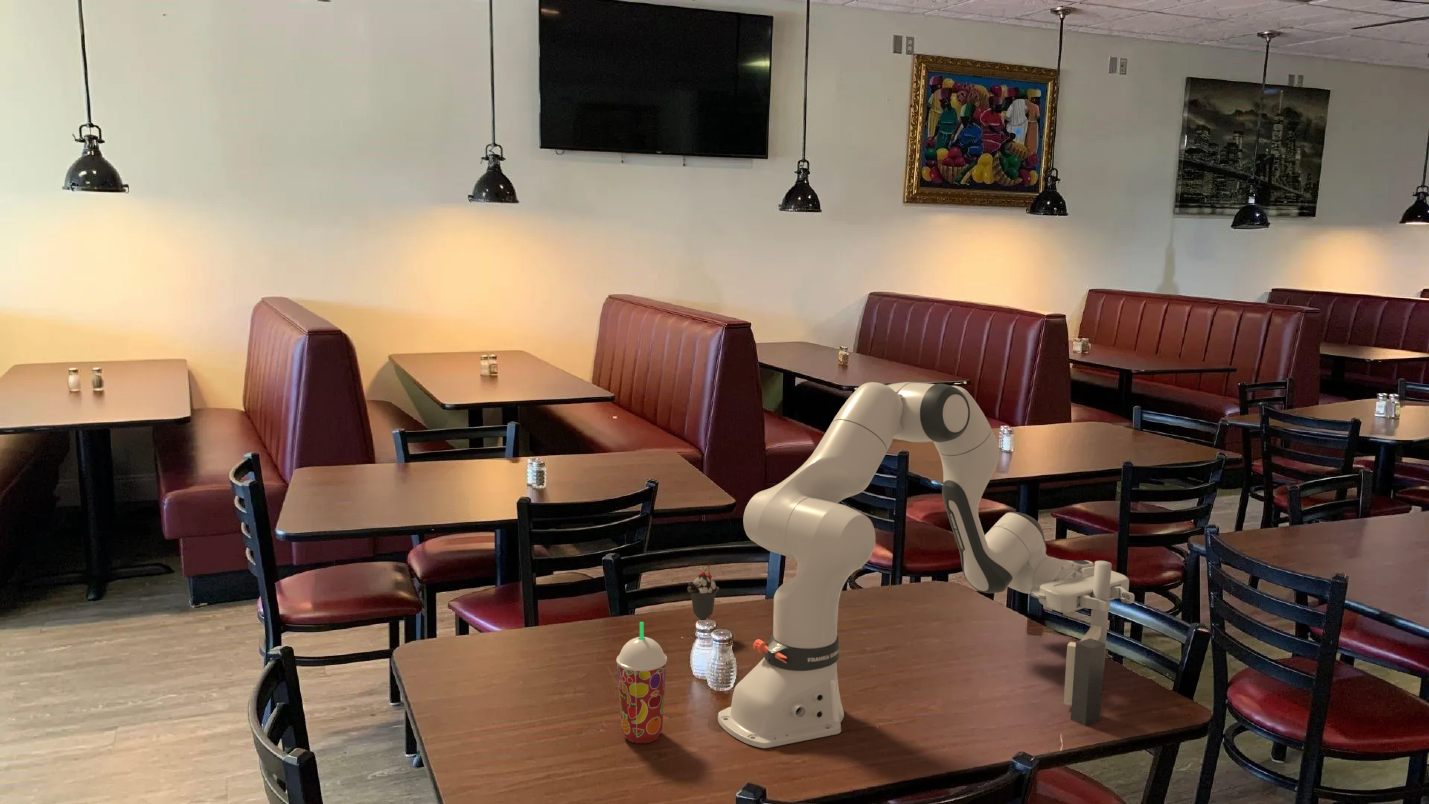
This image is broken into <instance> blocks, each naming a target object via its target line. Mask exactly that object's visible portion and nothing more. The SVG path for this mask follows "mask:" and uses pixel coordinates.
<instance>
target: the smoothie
mask: <svg viewBox="0 0 1429 804" xmlns="http://www.w3.org/2000/svg"><path fill="white" fill-rule="evenodd" d="M644 624H645V623H644V621H640V622H639V636H637V637H634V638H631V639H630V640H628V641H627V642H626V643H625V644H624V645H623V647H622V648H621V650H620V651H619V652H620V653H619V655H618V654H617V656H616V660H615V661H616V671H617V683H618V696H619V697H618V699H619V712H620V722H621V724H620V725H621V731H622V733H623V734H624V737H625V736H626V737H625V739H626V738H627V739H628V740H631V741H633V742H636V743H635V744H638V743H644V744H649V743H652V741H653V742H654V740H655V741H656V740H658V738H659V737H660V733H662V730H663V722H664V706H665V693H666V692H665V689H666V677H667V676H666V674H667V661H668V657H667V655H666V653H665V652H664V650H663V648H662V647H661V645H660V644H659V643H658V642H657V641H656V640H654V639H652V638H651V637H648V636H647V637H646V636H644V635H645V634H644V630H645V629H644V627H645V626H644ZM627 739H626V740H627ZM628 740H627V741H628ZM633 742H632V743H633Z"/></svg>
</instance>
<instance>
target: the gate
mask: <svg viewBox="0 0 1429 804" xmlns="http://www.w3.org/2000/svg"><path fill="white" fill-rule="evenodd" d="M1094 566H1095V567H1094V582H1093V596H1092V598H1096V599H1105V600H1108V601H1109V602H1110V600H1109V594H1110V580H1111V570H1112V566H1113V565H1112V563H1111V562H1110V561H1107V560H1096V561H1094ZM1108 620H1109V610H1107V611H1101V610H1098V609H1091V612H1090V627H1089V629H1088V630H1087V632H1086V633H1085V635H1084V636H1083V637H1082V638H1081V639H1080V641H1083V640H1086V639H1089V638H1092V639H1094V640H1097V641H1099V642H1102V643H1105V651H1106V649H1107V648H1106V647H1107V646H1106V645H1107V633H1108ZM1076 643H1077V642H1074V641H1070V642H1069V643H1068V644H1067V647H1066V658H1065V661H1066V663H1065V677H1064V689H1063V691H1064V693H1063V705H1067V706H1071V707H1072V693H1073V678H1074V663H1075V648H1076ZM1105 660H1106V654H1105V655H1104V664H1105V662H1106V661H1105ZM1104 670H1105V668H1104V669H1103V671H1104Z"/></svg>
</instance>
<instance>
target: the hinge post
mask: <svg viewBox="0 0 1429 804" xmlns="http://www.w3.org/2000/svg"><path fill="white" fill-rule="evenodd" d="M1075 643H1076V648H1075V663H1074V678H1073V693H1072V706H1071V709H1070V711H1071V712H1070V720H1072V721H1074V722H1076V723H1079V724H1081V725H1083V726H1085V727H1086V726H1089V725H1090V724H1093V723H1096V722H1098V721H1100V720H1101V710H1102V708H1101V707H1102V697H1103V695H1102V694H1103V682H1104V670H1105V663H1104V655H1105V656H1106V650H1105V643H1102V642H1099V641H1097V640H1094V639H1092V638H1089V639H1086V640H1083V641H1081V640H1079V641H1078V642H1075ZM1103 669H1104V670H1103Z"/></svg>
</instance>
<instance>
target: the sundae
mask: <svg viewBox="0 0 1429 804" xmlns="http://www.w3.org/2000/svg"><path fill="white" fill-rule="evenodd" d="M711 565H712V564H711V563H708V564H707V566H706V569H705V570H704V571H702V572H700V573H699V575H697V576H696V578H694V580H693V581H690V582H688V586H687V588H686V589H687V592H688V594H689V595H690V596H691V605H692V611H693V614H694V615H695V617H697V618H698V619H699V621H700V620H706V621H707V619H708V618H710V616H711V615H712V614H713V611H714V605H715V600H716V599H715V598H716V594H717V593H718V591H719V590H720V587H719V586H717V585H716V582H715V581H714V580H713V579H712V578H713V576H712V574H711V573H710V571H708V573H707V574H706V573H705V572H706V571H707V570H708V569H709V567H710V566H711ZM692 632H693V631H692ZM692 637H693V638H695V637H694V632H693V636H692Z"/></svg>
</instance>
